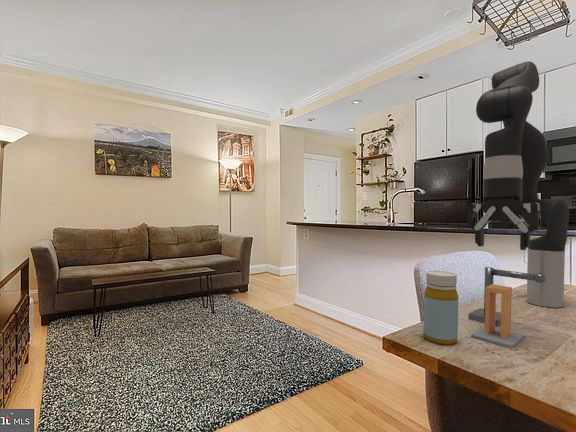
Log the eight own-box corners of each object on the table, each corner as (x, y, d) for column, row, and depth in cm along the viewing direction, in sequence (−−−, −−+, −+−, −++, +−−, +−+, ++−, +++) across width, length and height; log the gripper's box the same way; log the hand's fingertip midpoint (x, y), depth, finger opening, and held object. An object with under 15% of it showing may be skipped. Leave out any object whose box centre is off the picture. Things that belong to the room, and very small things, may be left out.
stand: (479, 313, 93) (480, 263, 93) (548, 328, 81) (550, 272, 81) (468, 319, 88) (469, 266, 88) (540, 336, 76) (541, 276, 76)
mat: (486, 327, 82) (487, 324, 82) (525, 337, 76) (525, 334, 76) (471, 337, 75) (471, 334, 75) (511, 348, 69) (511, 345, 69)
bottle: (454, 335, 76) (456, 271, 76) (459, 347, 69) (461, 277, 69) (422, 331, 78) (423, 269, 78) (424, 343, 72) (425, 275, 71)
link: (484, 333, 76) (485, 286, 75) (491, 329, 78) (492, 284, 78) (504, 339, 73) (505, 290, 72) (510, 334, 75) (511, 287, 75)
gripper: (462, 178, 77) (461, 246, 78) (536, 173, 67) (534, 252, 67) (474, 180, 82) (473, 244, 83) (545, 176, 72) (543, 249, 72)
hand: (501, 247), depth 75 cm, fingers open, 8 cm apart
